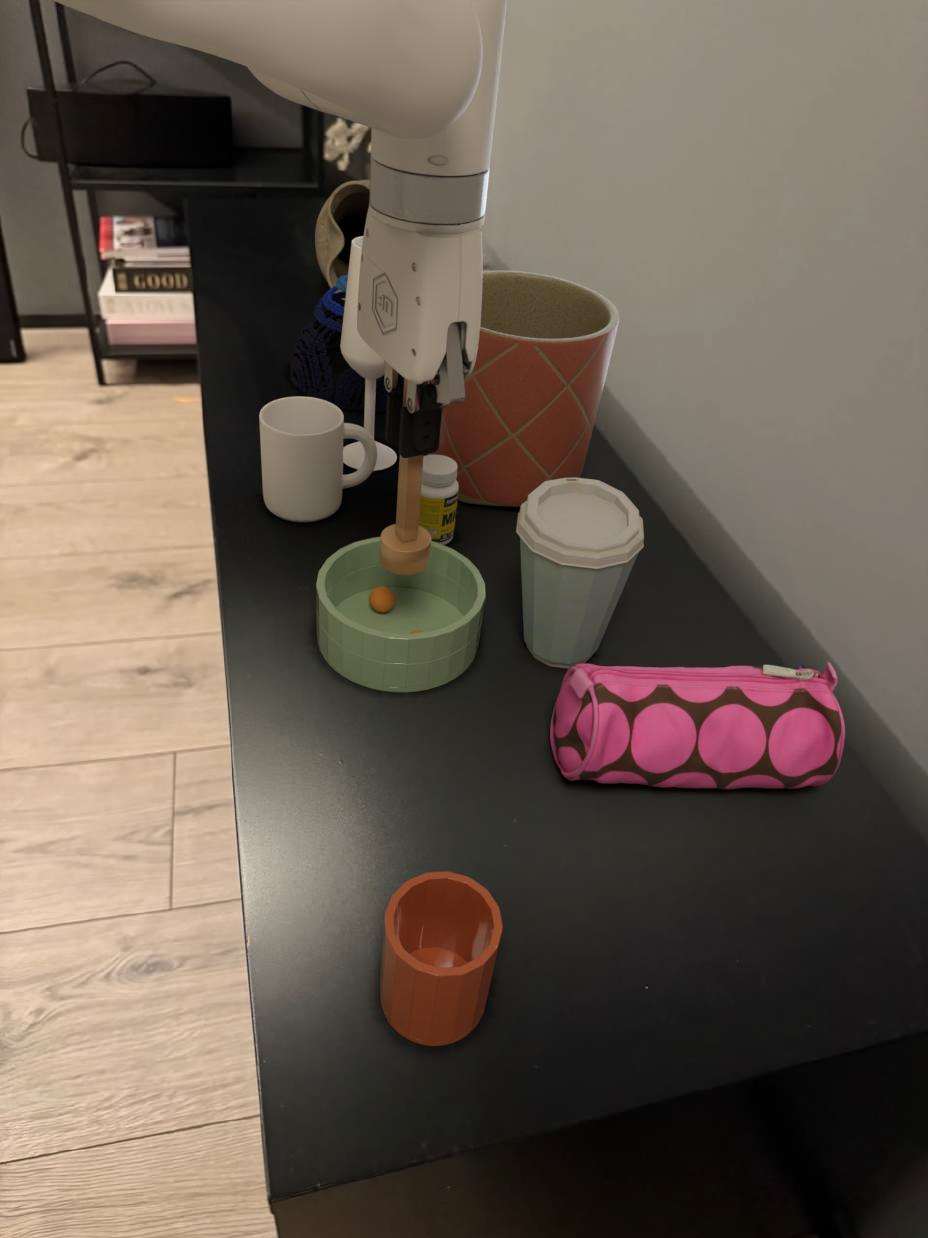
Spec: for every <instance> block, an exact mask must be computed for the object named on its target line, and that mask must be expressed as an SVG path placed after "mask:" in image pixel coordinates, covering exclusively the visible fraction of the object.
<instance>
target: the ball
mask: <svg viewBox="0 0 928 1238" xmlns="http://www.w3.org/2000/svg"><path fill="white" fill-rule="evenodd" d="M369 603H370V606H371V607H372V608H373V609H374V610H375V611H377V612H381V613H384V612H387V611H389V610H391V609H392V608H393V606H394V604H395V595H394V593H393V591H392V590H391V589H390V588H388V587H385V586H379V587H376V588H375V589H373V590H372V592H371V593H370V596H369Z"/></svg>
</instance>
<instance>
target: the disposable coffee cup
mask: <svg viewBox="0 0 928 1238" xmlns="http://www.w3.org/2000/svg"><path fill="white" fill-rule="evenodd" d="M644 531H645V530H644V520H643V517H641V515H640V510H639V509H638V508H637V507H636V505H635V504H634V503H633V502H632V500H630V498H629V497H628V496H627V495H626V494H625V493H624V492H623V491H621V490H619V489H617V488H616V487H613V486H611V485H609V484H607V483H605V482H603V481H601V480H600V479H593V478H592V479H591V478H584V477H581V478H561V479H555V480H550V481H545V482H543V483H542V484H541V485H540V486H539V487H537V488H536V489H535V490H534V491H533V492H531V493H530V494H529V495H528V499H527V501H526V502H524V503H523V504H522V505H521V507H519V512H518V513H517V519H516V528H515V532H516V534H517V535H518V536H519V543H520V544H519V545H520V571H521V595H522V596H521V597H522V599H521V600H522V622H523V623H522V624H523V641H524V643H525V645H526V649H527V650H528V651H529V653H530V654H531V656H532V657H533V659H535V660H537V661H539V662H540V663H543V664H545V665H546V666H549V667H553V668H560V669H569V668H571V667H573V666H574V665H576V664H587V662H588V661H589V660H590V659H591V658H592V657H593V655H594V654H595V653H597V651H598V650H599V647H600V645H601V643H602V640H603V638H604V635H605V633H606V631H607V629H608V627H609V624H610V621H611V619H612V617H613V614H614V612H615V609H616V607H617V605H618V603H619V600H620V598H621V595H622V593H623V591H624V588H625V586H626V584H627V581H628V579H629V577H630V574H631V572H632V569H633V566H635V565H634V564H635V563H636V560H637V558H638V556H639V553H640V551H642V550H643V548H645V544H644V540H645V533H644Z"/></svg>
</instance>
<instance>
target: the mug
mask: <svg viewBox="0 0 928 1238" xmlns="http://www.w3.org/2000/svg"><path fill="white" fill-rule="evenodd" d="M258 414H259V415H258V417H259V418H258V419H259V420H258V421H259V441H260V460H261V462H260V463H261V483H262V496H263V502H264V505H265V507H266V508H267V510H269V512H270V513H272V514H273V515H274V516H276V517H278V518H280V519H282V520H285V521H289V522H292V523H314V522H319V521H322V520H325V519H327V518H329V517H331V516H332V515H334V514H335V513H336V512H337V511H338V510H339V508H340V507H341V505H342V501H343V490H344V489H349V488H353V487H356V486H359V485H360V484H362V483H364V482H365V481H366V480H367V479H368V478H369V477H370V476H371V475H372V474H373V472H374V471H373V470H374V467H375V465H376V461H377V447H376V443H375V441H376V440H375V437H374V438H373V437H372V435H371V434H370V433H369V432H368V431H367V430H366V429H364V426H361V425H358V424H355V423H351V422H345V417H344V412H343V411H342V409H340V407H339V408H338V407H337V406H336V405H334V404H332V403H330V402H328V401H327V400H326V401H325V400H322V399H318V398H313V397H309V396H287V397H282V398H278V399H274V400H272V401H269V402H268V403H267V404H265V405H263V406H262V408H261V409H260V411H259V413H258ZM345 439H352V440H356V441H357V442H358V441H360V442H361V443H362V445H363V447H364V450H365V458H364V462H363V464H362V466H361V467H360V468H359V469H356V471H354V472H352V473H348V474H344V463H343V448H344V440H345Z"/></svg>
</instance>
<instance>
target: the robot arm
mask: <svg viewBox="0 0 928 1238" xmlns="http://www.w3.org/2000/svg"><path fill="white" fill-rule="evenodd" d="M52 1H53V2H56V3H58V4H59V5H63V6H65V7H66V8H70V9H71V10H75V11H77V12H80V13H82V14H85V15H88V16H92V17H94V18H96V19H97V20H100V21H103V22H106V23H107V24H110V25H112V26H116V27H117V28H118V27H119V28H121V29H124V30H126V31H128V32H131V33H135V34H138V35H141V36H144V37H148V38H151V39H155V40H158V41H162V42H166V43H171V44H173V45H177V46H181V47H185V48H188V49H192V50H196V51H200V52H203V53H205V54H206V53H207V54H209V55H213V56H215V57H218V58H222V59H225V60H228V61H230V62H233V63H235V64H239V65H242V66H244V67H247V69H248V71H250V73H251V74H252V75H253V77H255V79H257V80H258V82H260V83H261V84H262V85H263V86H264V87H266V88H267V89H269V90H270V91H272V92H273V93H275V94H276V95H278V96H280V97H281V98H284V99H286V100H288V101H290V102H293V103H296V104H298V105H302V106H305V107H307V108H310V109H313V110H316V111H319V112H321V113H324V114H327V115H331V116H336V117H339V118H342V119H344V120H348V121H351V122H354V123H357V124H359V125H361V126H365V127H368V128H370V129H371V135H370V164H369V165H370V166H369V167H370V168H369V180H370V197H369V208H368V213H367V218H366V223H365V229H364V236H363V244H362V253H361V263H360V275H359V289H358V307H357V329H358V332H359V335H360V336H361V338H362V339H363V341H364V342H365V343H366V344H367V345H368V346H369V347H370V348H371V349H373V350H374V351H375V352H376V353H377V354H378V355H379V356H380V357H381V358H382V359H383V360H384V362H385V375H383V378H384V383H383V384H384V385H385V388H386V390H387V391H388V392H392V393H391V394H387V403H386V405H385V408H386V412H385V430H384V434H385V435H384V440H385V441H386V442H387V443H388V444H389V445H396V444H398V454H399V456H400V455H401V456H402V457H403V458H409V457H414V456H419V455H424V456H425V455H428V454H429V453H434V452H436V451H437V450H438V448H439V440H440V428H441V417H442V408H443V407H446V405H448V404H453V403H459V402H464V400H465V386H464V376H469V375H470V374H471V372H472V371H473V368H474V366H475V362H476V357H477V350H478V343H479V334H480V323H481V305H482V279H483V271H484V270H483V269H484V266H483V263H484V261H483V259H484V257H483V254H484V253H483V229H482V228H481V227H483V225H484V223H485V219H486V208H487V199H488V188H489V179H490V170H491V169H490V167H491V159H492V150H493V139H494V131H495V121H496V112H497V103H498V93H499V85H500V73H501V66H502V65H501V64H502V57H503V56H502V54H503V46H504V45H503V44H504V36H505V35H504V34H505V26H506V17H507V16H506V15H507V3H508V1H507V0H52ZM404 378H405V379H406V380H408V387H407V399H406V404H407V406H406V407H403V390H404ZM432 380H435V382H434V384H427V385H425V386H424V387H423V388H422V385H423V382H424V381H432Z"/></svg>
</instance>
